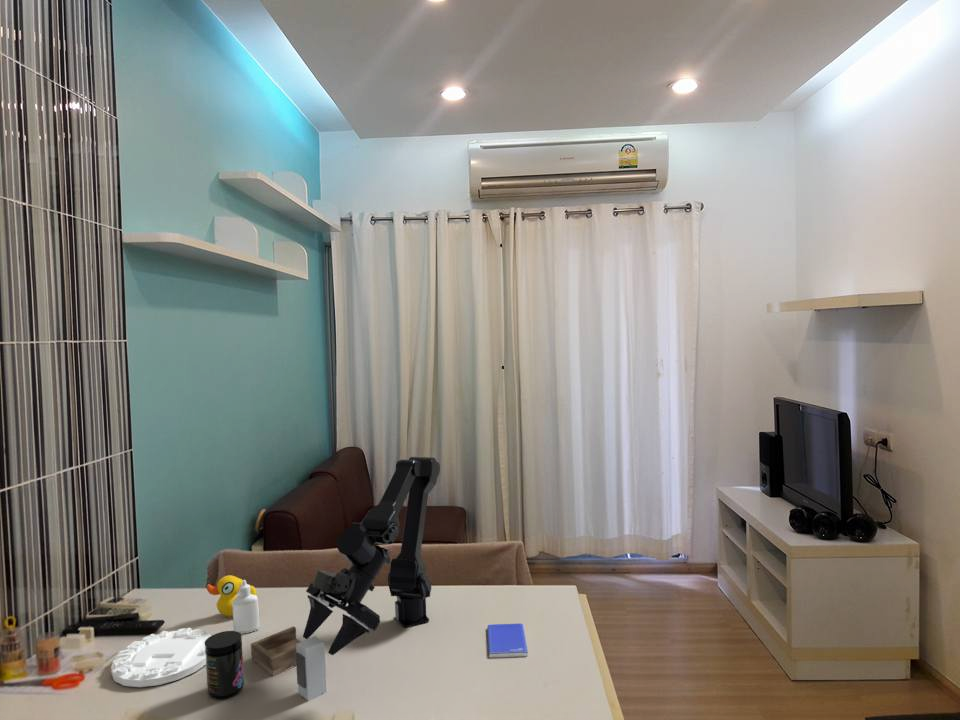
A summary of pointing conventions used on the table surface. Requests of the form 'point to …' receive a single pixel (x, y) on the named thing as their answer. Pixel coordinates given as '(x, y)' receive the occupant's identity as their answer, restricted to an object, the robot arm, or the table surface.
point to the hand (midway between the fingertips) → (317, 645)
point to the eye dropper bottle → (245, 610)
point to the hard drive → (506, 640)
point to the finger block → (311, 668)
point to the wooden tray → (276, 651)
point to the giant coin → (160, 658)
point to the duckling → (227, 593)
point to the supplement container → (224, 664)
